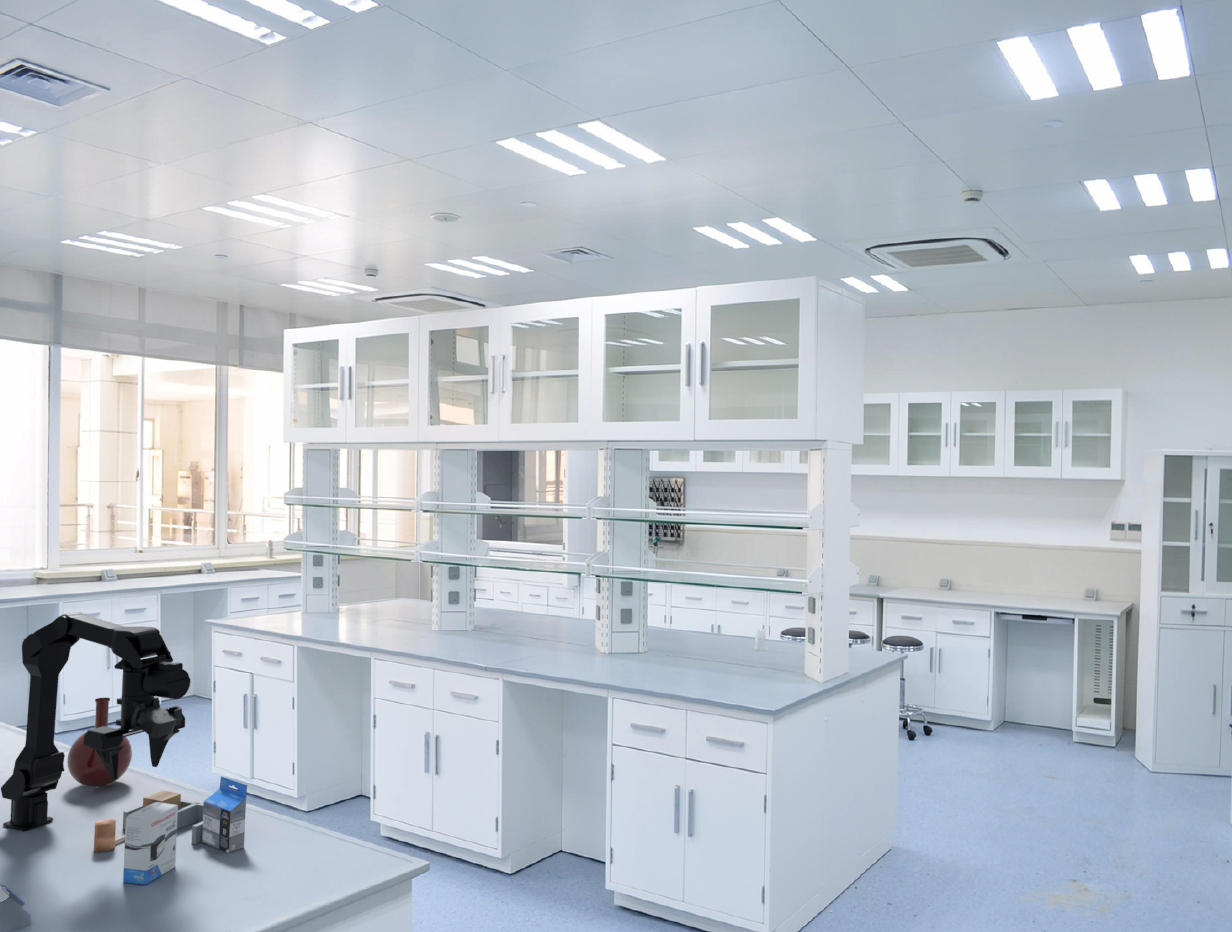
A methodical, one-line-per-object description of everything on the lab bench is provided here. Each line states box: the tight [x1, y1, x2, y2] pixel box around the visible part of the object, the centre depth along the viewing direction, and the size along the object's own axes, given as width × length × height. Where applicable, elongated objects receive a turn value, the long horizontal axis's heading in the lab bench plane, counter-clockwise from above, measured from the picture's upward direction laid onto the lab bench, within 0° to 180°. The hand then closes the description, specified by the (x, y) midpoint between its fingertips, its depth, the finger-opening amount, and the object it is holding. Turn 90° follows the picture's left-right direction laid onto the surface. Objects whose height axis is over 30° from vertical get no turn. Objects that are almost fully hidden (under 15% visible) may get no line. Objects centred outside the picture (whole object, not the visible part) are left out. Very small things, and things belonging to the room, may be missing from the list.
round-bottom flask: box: [66, 697, 133, 788], centre depth 217 cm, size 13×13×20 cm
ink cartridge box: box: [201, 776, 248, 854], centre depth 186 cm, size 9×4×12 cm, turn 57°
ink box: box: [122, 802, 178, 886], centre depth 171 cm, size 8×5×12 cm, turn 168°
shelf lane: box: [122, 798, 203, 845], centre depth 194 cm, size 19×10×4 cm, turn 70°
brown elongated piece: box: [93, 789, 182, 853], centre depth 189 cm, size 5×18×6 cm, turn 160°
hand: (134, 772), depth 183 cm, fingers open, 9 cm apart
